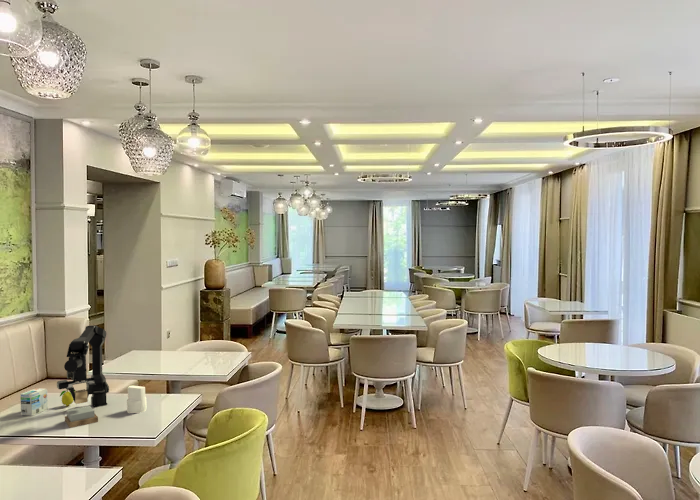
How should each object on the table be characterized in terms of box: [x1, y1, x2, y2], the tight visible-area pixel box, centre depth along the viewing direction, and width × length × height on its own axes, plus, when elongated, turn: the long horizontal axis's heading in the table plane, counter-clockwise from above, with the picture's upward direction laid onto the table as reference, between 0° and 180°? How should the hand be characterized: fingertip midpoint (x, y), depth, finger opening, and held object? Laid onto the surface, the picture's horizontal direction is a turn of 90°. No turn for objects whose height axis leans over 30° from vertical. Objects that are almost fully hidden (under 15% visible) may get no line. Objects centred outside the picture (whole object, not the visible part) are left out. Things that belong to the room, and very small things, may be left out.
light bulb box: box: [19, 387, 49, 417], centre depth 261 cm, size 11×7×11 cm, turn 168°
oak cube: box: [73, 389, 89, 405], centre depth 246 cm, size 5×5×5 cm
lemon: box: [59, 388, 77, 407], centre depth 270 cm, size 7×6×10 cm
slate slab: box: [66, 405, 96, 422], centre depth 246 cm, size 10×10×3 cm
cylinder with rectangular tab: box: [126, 385, 148, 414], centre depth 260 cm, size 9×9×12 cm
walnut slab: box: [64, 413, 99, 429], centre depth 246 cm, size 12×12×3 cm
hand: (80, 399), depth 246 cm, fingers closed on oak cube, 5 cm apart
